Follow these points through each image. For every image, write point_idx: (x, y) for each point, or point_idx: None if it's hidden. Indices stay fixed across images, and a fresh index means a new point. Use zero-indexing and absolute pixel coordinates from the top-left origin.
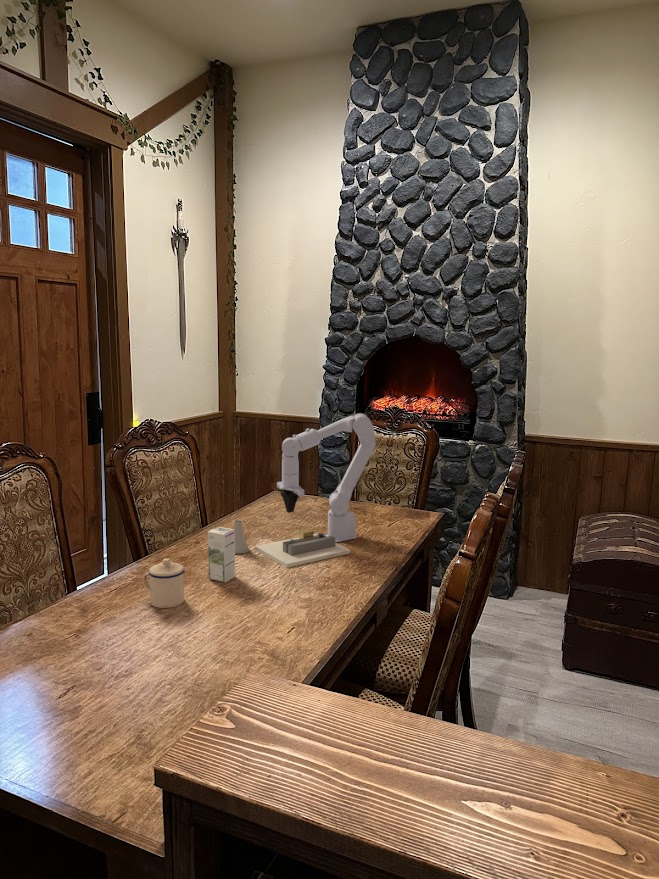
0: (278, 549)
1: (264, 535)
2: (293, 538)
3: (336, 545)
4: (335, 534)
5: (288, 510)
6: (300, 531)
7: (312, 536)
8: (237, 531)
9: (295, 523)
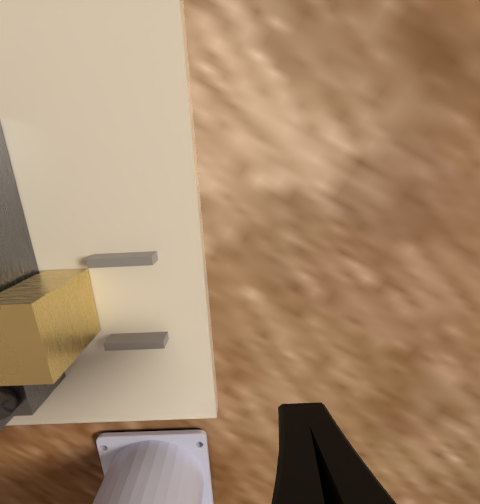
0: (43, 108)
1: (400, 199)
2: (203, 292)
3: None
4: (109, 475)
5: (280, 423)
6: (21, 308)
7: None
8: None
9: (464, 427)
